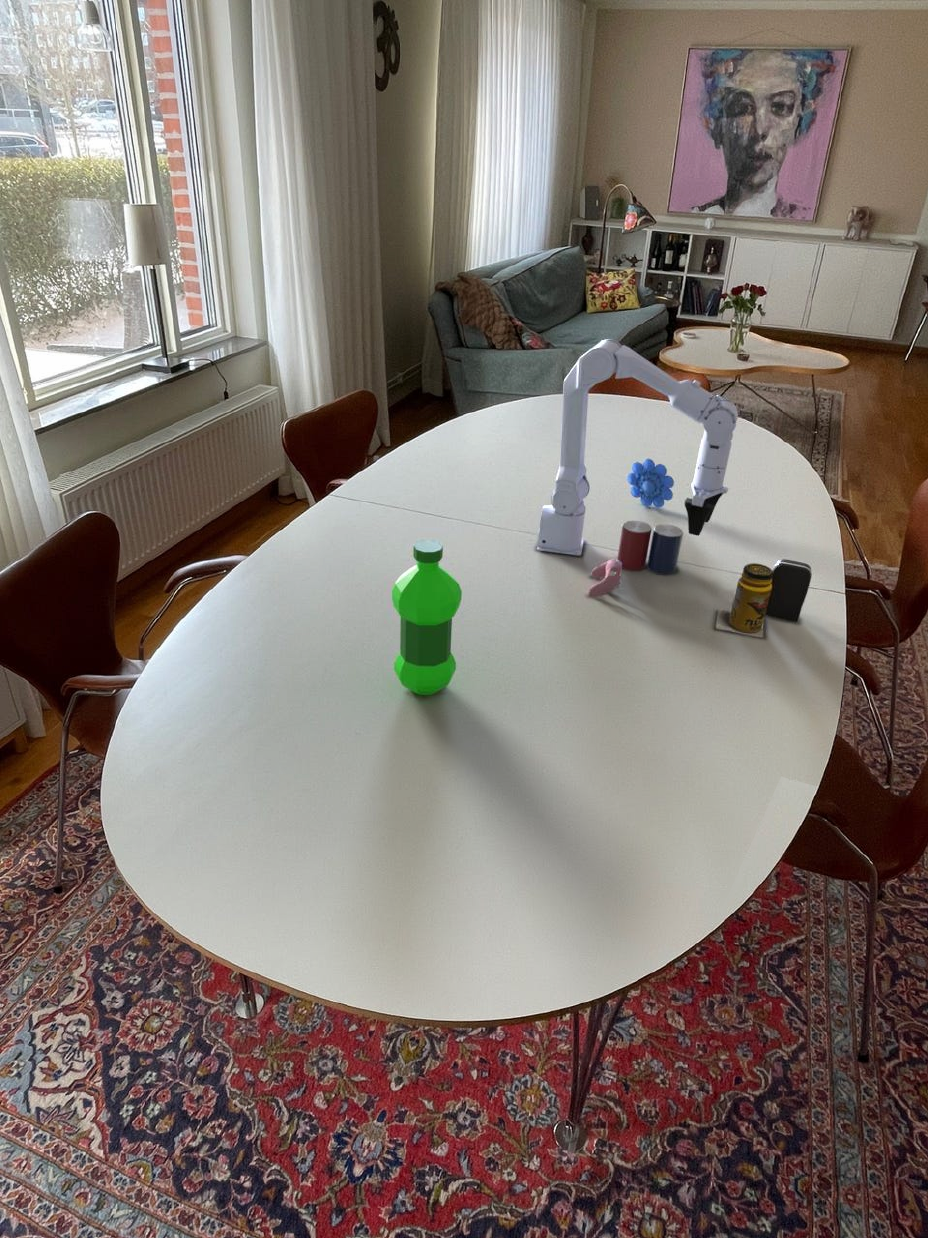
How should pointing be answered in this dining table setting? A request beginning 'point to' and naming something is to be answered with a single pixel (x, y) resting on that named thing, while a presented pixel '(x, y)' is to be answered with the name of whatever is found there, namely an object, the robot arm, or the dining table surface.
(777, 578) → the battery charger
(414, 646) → the plastic bottle
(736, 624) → the condiment
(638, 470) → the blue flower
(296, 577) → the dining table surface
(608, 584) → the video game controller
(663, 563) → the tin can navy
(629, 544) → the tin can burgundy
